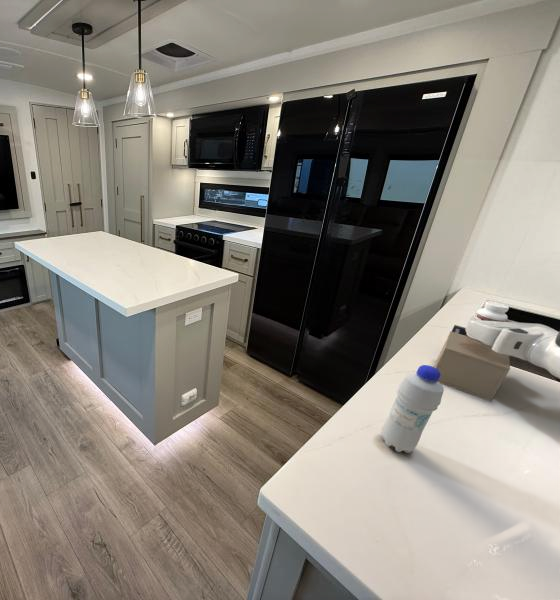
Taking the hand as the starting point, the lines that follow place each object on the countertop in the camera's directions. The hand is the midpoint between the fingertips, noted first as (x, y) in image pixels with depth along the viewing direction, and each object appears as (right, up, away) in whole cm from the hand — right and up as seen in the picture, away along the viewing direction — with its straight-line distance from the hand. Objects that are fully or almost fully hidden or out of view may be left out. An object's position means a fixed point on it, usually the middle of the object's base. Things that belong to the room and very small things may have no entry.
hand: (486, 319), depth 90 cm
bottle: (-44, -26, -23) cm, 56 cm away
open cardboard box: (-7, -18, 0) cm, 19 cm away
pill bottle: (0, -6, +2) cm, 6 cm away
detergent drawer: (+2, -14, +8) cm, 16 cm away
